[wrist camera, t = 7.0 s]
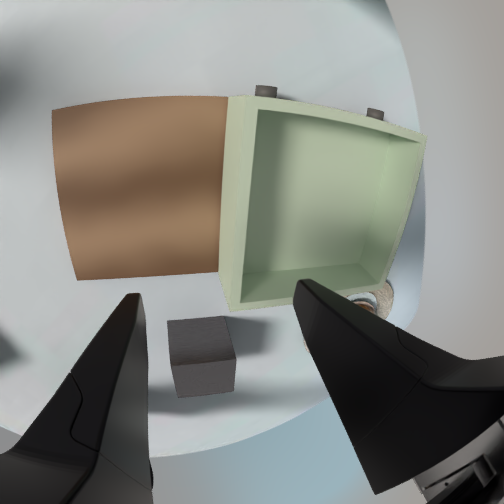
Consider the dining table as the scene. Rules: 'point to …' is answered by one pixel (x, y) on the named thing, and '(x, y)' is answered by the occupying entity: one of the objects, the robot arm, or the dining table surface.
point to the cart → (310, 198)
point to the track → (141, 184)
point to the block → (201, 356)
